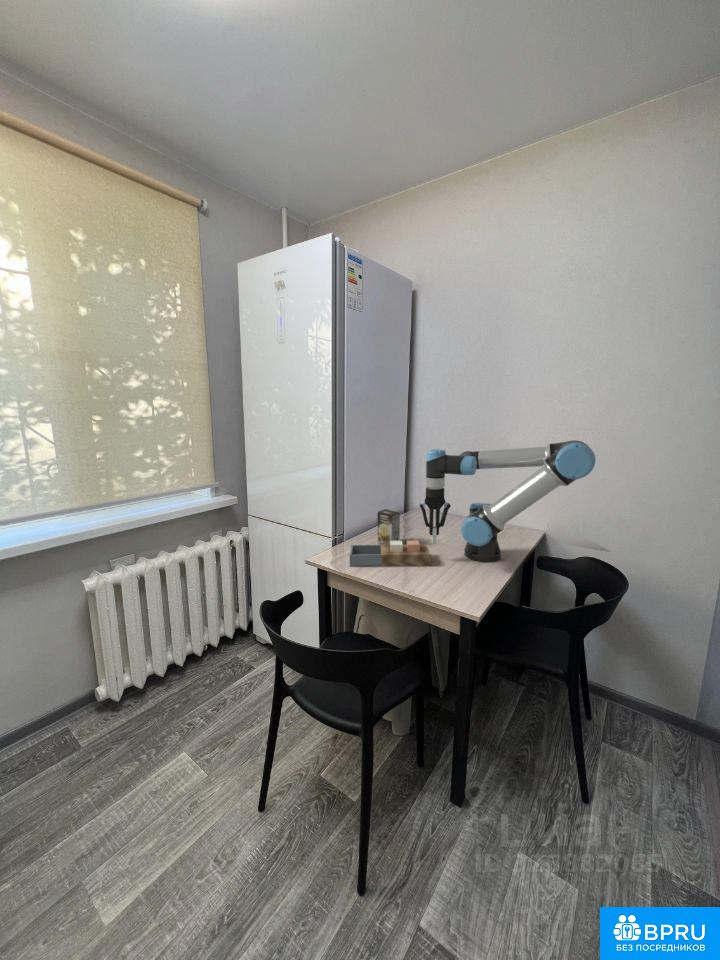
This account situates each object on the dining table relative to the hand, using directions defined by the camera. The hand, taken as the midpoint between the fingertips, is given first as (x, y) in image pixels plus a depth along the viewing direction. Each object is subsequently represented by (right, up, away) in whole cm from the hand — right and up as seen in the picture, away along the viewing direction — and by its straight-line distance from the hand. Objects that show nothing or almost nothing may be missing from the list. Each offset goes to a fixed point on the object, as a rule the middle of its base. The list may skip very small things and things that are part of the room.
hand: (433, 542), depth 162 cm
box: (-29, -8, +2) cm, 30 cm away
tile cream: (-16, -3, +1) cm, 16 cm away
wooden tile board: (-12, -8, +2) cm, 15 cm away
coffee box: (-17, -5, +22) cm, 28 cm away
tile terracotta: (-9, -3, +1) cm, 9 cm away
